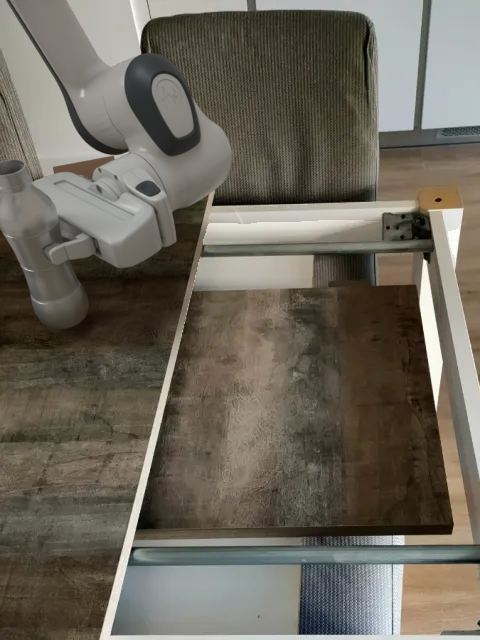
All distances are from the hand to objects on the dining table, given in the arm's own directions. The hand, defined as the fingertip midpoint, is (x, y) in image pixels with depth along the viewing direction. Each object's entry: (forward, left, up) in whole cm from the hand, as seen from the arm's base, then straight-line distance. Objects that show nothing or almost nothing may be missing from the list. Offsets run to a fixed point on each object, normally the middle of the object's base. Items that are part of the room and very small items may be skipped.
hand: (30, 246), depth 75 cm
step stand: (+8, +24, -12) cm, 28 cm away
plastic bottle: (+1, 0, -11) cm, 11 cm away
